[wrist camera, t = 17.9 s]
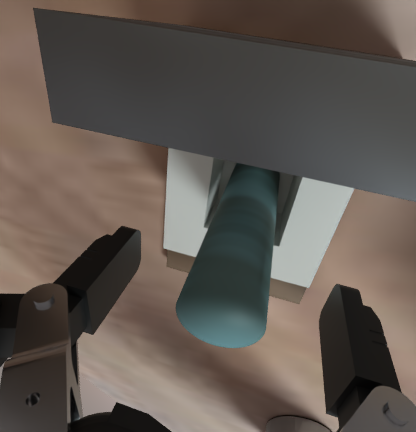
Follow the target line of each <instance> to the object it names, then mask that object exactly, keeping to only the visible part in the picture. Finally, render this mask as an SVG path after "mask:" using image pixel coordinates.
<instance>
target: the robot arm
mask: <svg viewBox="0 0 416 432" xmlns="http://www.w3.org/2000/svg"><path fill="white" fill-rule="evenodd" d="M140 261H141V233H140V231H139V230H136V229H132V228H128V227H125V226H121V227H120V228H119V229H118V230H117V231H116V232H115V233H114V234H113V235H112V236H111V235H108V234H107V235H105V236H103V237H101V238H99V239H97V240H95V241H94V242H93V243H92V244H91V245H90V246H89V247H88V248H87V250H85V251H84V252H83V253H82V254H81V256H80V257H78V258H77V259H76V260H75V261H74V262H73V263H72V264H71V265H70V266H69V267H68V268H67V269H66V270H65V271H64V272H63V273H62V274H61V276H60V277H59V278H58V279H57V280H56V281H55V282H53V283H48V284H43V285H39V286H36V287H34V288H32V289H31V290H29V291H28V292H27V293H26V294H0V367H1V366H2V364H3V363H4V362H5V363H4V367H3V371H2V378H1V383H0V432H171V431H170V430H169V429H167V428H166V427H165V426H163V425H162V424H161V423H160V422H158V421H157V420H156V419H154V418H153V417H152V416H150V415H149V414H147V413H144V412H142V411H139V410H136V409H133V408H131V407H128V406H125V405H123V404H120V403H117V402H116V405H115V406H114V408H113V410H112V412H103V413H96V414H92V415H88V416H86V417H83V412H82V403H81V395H80V383H79V382H80V381H79V361H78V342H77V340H78V338H79V337H80V336H81V334H82V333H83V332H86V333H89V334H92V335H93V334H94V333H95V332H96V330H97V329H98V327H99V326H100V324H101V323H102V321H103V320H104V318H105V317H106V315H107V314H108V313H109V311H110V310H111V308H112V307H113V305H114V304H115V302H116V301H117V299H118V298H119V296H120V295H121V294H122V292H123V291H124V289H125V288H126V286H127V285H128V283H129V282H130V280H131V279H132V277H133V276H134V275H135V273H136V272H137V270H138V267H139V265H140ZM319 330H320V343H321V355H322V367H323V380H324V392H325V404H326V414H329V415H332V416H335V417H338V421H339V429H338V430H337V431H336V432H416V406H415V405H414V404H413V403H412V401H411V400H409V399H408V398H407V397H406V396H405V395H404V394H402V392H401V389H400V385H399V382H398V379H397V375H396V372H395V369H394V365H393V362H392V359H391V355H390V352H389V349H388V347H387V342H386V339H385V336H384V332H383V329H382V325H381V322H380V320H379V318H378V317H377V315H376V314H375V313H374V311H373V310H372V308H371V307H368V306H364V305H363V303H362V299H361V295H360V292H359V290H358V289H354V288H351V287H347V286H343V285H340V284H336V285H335V286H334V288H333V290H332V292H331V293H330V295H329V297H328V299H327V301H326V303H325V305H324V307H323V309H322V311H321V314H320V319H319ZM8 357H12V358H11V359H8V360H7V358H8ZM266 432H331V431H330V430H328V429H327V428H326V427H324V426H322V425H320V424H319V423H316V422H314V421H311V420H308V419H304V418H300V417H292V416H282V417H276V418H274V419H271V420H270V421H269V422H268V423H267V425H266Z"/></svg>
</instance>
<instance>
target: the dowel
mask: <svg viewBox="0 0 416 432" xmlns="http://www.w3.org/2000/svg"><path fill="white" fill-rule="evenodd" d="M279 180H280V173H279V172H277V171H273V170H268V169H263V168H259V167H254V166H250V165H245V164H241V163H237V164H236V165H235V167H234V170H233V172H232V174H231V177H230V179H229V181H228V184H227V186H226V188H225V191H224V193H223V195H222V198H221V200H220V202H219V205H218V207H217V209H216V212H215V214H214V216H213V219H212V221H211V223H210V225H209V228H208V230H207V232H206V235H205V237H204V239H203V242H202V244H201V246H200V249H199V251H198V253H197V256H196V258H195V260H194V263H193V265H192V267H191V270H190V272H189V274H188V277H187V279H186V281H185V284H184V286H183V288H182V291H181V293H180V295H179V298H178V300H177V303H176V313H177V316H178V319H179V321H180V322H181V324H182V325H183V326H184V327H185V329H187V330H188V331H189V332H190V333H191V334H192V335H194V336H195V337H197V338H199V339H200V340H202V341H204V342H207V343H209V344H212V345H216V346H220V347H226V348H241V347H246V346H249V345H252V344H254V343H256V342H257V341H259V340H260V339H261V338H262V336H263V335H264V333H265V330H266V323H267V312H268V301H269V290H270V279H271V268H272V257H273V246H274V235H275V224H276V213H277V202H278V191H279Z"/></svg>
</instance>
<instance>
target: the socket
mask: <svg viewBox="0 0 416 432" xmlns="http://www.w3.org/2000/svg"><path fill="white" fill-rule="evenodd" d="M236 164H237V163H236V162H231V161H227V160H222V159H218V158H213V157H209V156H204V155H199V154H195V153H190V152H186V151H181V150H177V149H172V148H168V167H167V186H166V206H165V225H164V244H163V248H164V249H168V250H171V251H175V252H179V253H182V254H186V255H190V256H193V257H196V256H197V253H198V251H199V249H200V246H201V244H202V242H203V239H204V237H205V235H206V232H207V230H208V228H209V225H210V223H211V221H212V219H213V216H214V214H215V212H216V209H217V207H218V205H219V202H220V200H221V198H222V195H223V193H224V191H225V188H226V186H227V184H228V181H229V179H230V177H231V174H232V172H233V170H234V167H235V165H236ZM279 173H280V180H279V191H278V202H277V213H276V224H275V235H274V246H273V257H272V268H271V278H274V279H277V280H281V281H285V282H288V283H292V284H296V285H299V286H303V287H307V288H309V287H310V285H311V283H312V280H313V278H314V276H315V274H316V272H317V269H318V267H319V265H320V263H321V261H322V258H323V256H324V254H325V252H326V250H327V247H328V245H329V243H330V241H331V239H332V237H333V234H334V232H335V230H336V228H337V226H338V223H339V221H340V219H341V217H342V215H343V212H344V210H345V208H346V206H347V204H348V202H349V199H350V197H351V195H352V193H353V191H354V188H350V187H346V186H341V185H337V184H332V183H327V182H323V181H318V180H314V179H309V178H305V177H300V176H295V175H291V174H286V173H282V172H279Z"/></svg>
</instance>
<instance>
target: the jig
mask: <svg viewBox="0 0 416 432" xmlns="http://www.w3.org/2000/svg"><path fill="white" fill-rule="evenodd" d="M33 10H34V16H35V22H36V28H37V34H38V40H39V46H40V52H41V57H42V63H43V69H44V75H45V81H46V87H47V93H48V99H49V105H50V111H51V116H52V122H53V123H58V124H62V125H67V126H71V127H76V128H81V129H85V130H90V131H94V132H99V133H103V134H108V135H113V136H117V137H122V138H126V139H131V140H135V141H140V142H145V143H149V144H154V145H158V146H163V147H167V148H172V149H177V150H181V151H186V152H190V153H195V154H199V155H204V156H209V157H213V158H218V159H222V160H227V161H231V162H236V163H241V164H245V165H250V166H254V167H259V168H263V169H268V170H273V171H277V172H282V173H286V174H291V175H295V176H300V177H305V178H309V179H314V180H318V181H323V182H327V183H332V184H337V185H341V186H346V187H350V188H355V189H359V190H364V191H369V192H373V193H378V194H382V195H387V196H391V197H396V198H401V199H405V200H410V201H414V202H416V61H412V60H407V59H401V58H395V57H388V56H382V55H375V54H368V53H362V52H355V51H349V50H342V49H336V48H329V47H322V46H316V45H309V44H303V43H296V42H289V41H283V40H276V39H270V38H263V37H257V36H250V35H243V34H237V33H230V32H224V31H217V30H211V29H204V28H197V27H191V26H184V25H175V24H166V23H158V22H149V21H141V20H132V19H124V18H115V17H107V16H98V15H89V14H81V13H72V12H64V11H55V10H47V9H38V8H33ZM195 258H196V257H193V256H190V255H186V254H182V253H179V252H175V251H171V250H168V252H167V267H170V268H173V269H177V270H180V271H184V272H187V273H189V272H190V270H191V267H192V265H193V263H194V260H195ZM306 288H307V287H303V286H299V285H296V284H292V283H288V282H285V281H281V280H277V279H274V278H271V279H270V290H269V296H272V297H276V298H279V299H283V300H286V301H290V302H293V303H297V304H300V301H301V299H302V297H303V295H304V292H305V290H306Z"/></svg>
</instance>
